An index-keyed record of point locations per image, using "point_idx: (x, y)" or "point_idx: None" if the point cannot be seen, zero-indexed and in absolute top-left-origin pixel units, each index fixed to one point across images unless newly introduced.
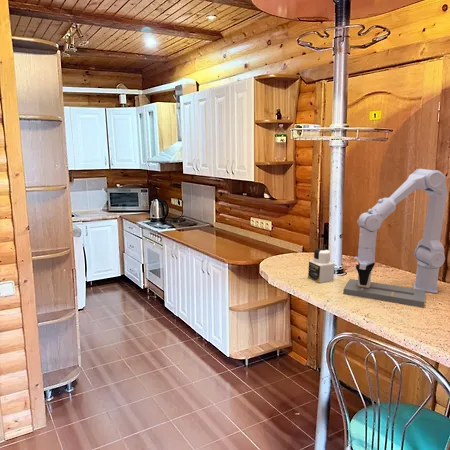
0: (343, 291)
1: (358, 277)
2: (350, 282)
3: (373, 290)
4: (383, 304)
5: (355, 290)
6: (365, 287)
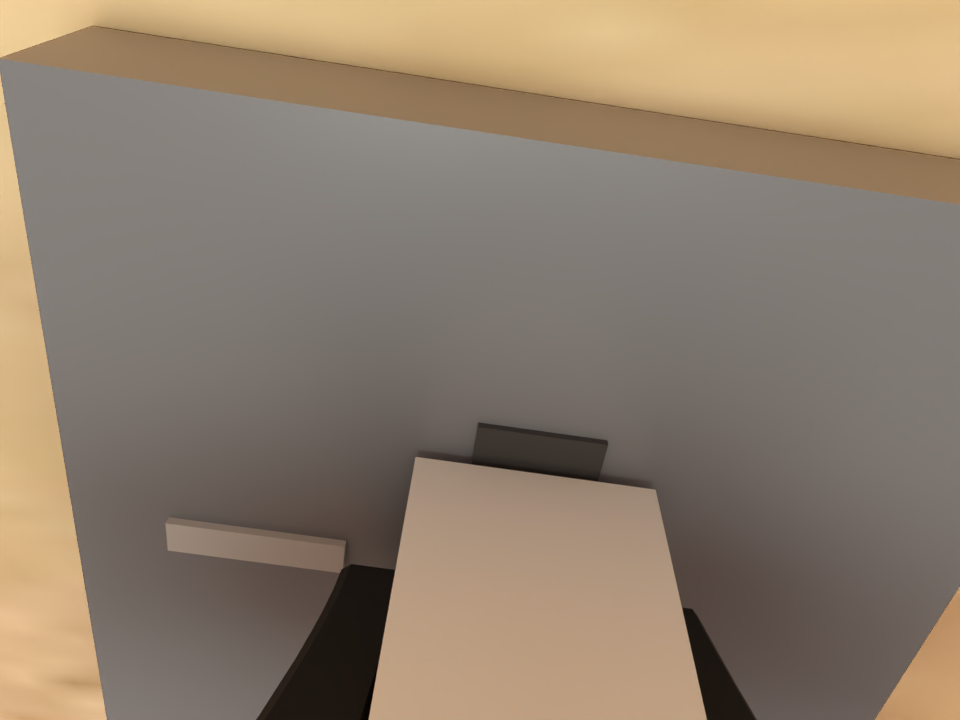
0: (53, 44)
1: (373, 695)
2: (743, 268)
3: None
4: (9, 712)
5: (63, 404)
6: None
